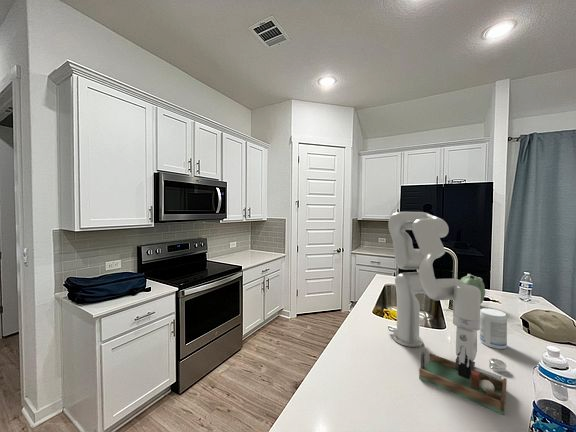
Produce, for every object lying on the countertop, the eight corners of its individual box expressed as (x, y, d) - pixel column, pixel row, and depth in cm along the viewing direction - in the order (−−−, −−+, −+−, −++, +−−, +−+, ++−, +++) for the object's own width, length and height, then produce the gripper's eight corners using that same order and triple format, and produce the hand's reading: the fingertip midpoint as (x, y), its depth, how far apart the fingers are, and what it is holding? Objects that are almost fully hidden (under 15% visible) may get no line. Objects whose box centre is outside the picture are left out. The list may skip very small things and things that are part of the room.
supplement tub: (509, 345, 111) (510, 313, 111) (502, 352, 106) (503, 318, 106) (483, 336, 119) (484, 306, 119) (475, 342, 114) (476, 310, 114)
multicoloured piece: (455, 380, 86) (455, 359, 86) (457, 376, 88) (457, 355, 88) (500, 399, 78) (501, 375, 77) (501, 393, 80) (501, 371, 80)
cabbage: (447, 304, 160) (448, 274, 159) (462, 299, 169) (463, 270, 169) (475, 313, 146) (476, 280, 146) (490, 307, 156) (491, 276, 155)
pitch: (415, 376, 90) (415, 360, 90) (426, 360, 100) (426, 345, 100) (504, 415, 73) (504, 395, 73) (506, 390, 83) (506, 373, 83)
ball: (490, 382, 79) (496, 395, 78) (491, 377, 82) (497, 389, 81) (477, 383, 81) (483, 395, 80) (478, 377, 84) (484, 389, 83)
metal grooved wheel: (509, 371, 93) (494, 364, 98) (509, 364, 93) (494, 356, 98) (500, 374, 91) (486, 366, 96) (501, 366, 91) (486, 359, 96)
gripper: (476, 333, 76) (475, 392, 77) (482, 317, 88) (481, 368, 89) (448, 325, 82) (447, 380, 82) (457, 311, 93) (456, 359, 94)
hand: (465, 373), depth 85 cm, fingers closed on multicoloured piece, 3 cm apart
